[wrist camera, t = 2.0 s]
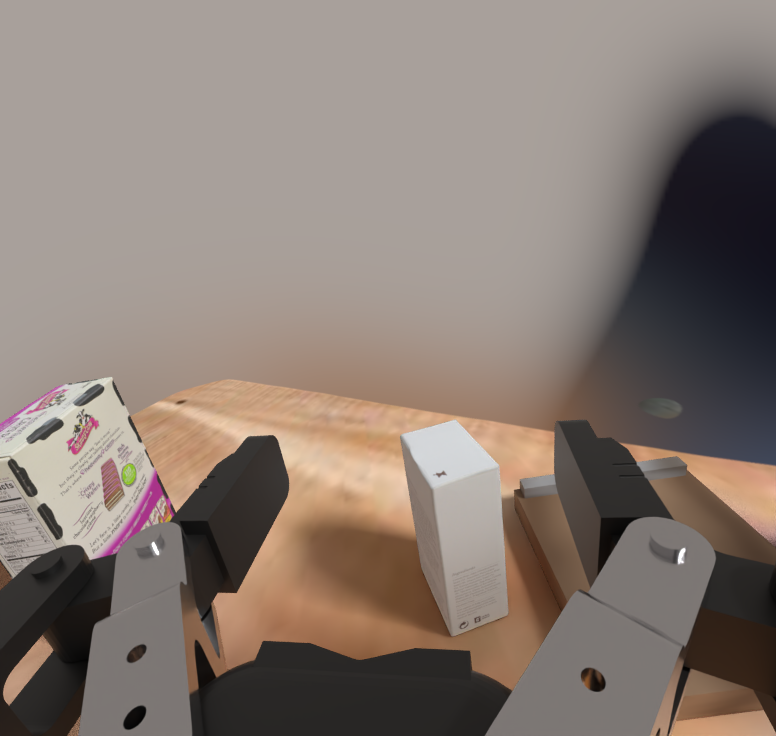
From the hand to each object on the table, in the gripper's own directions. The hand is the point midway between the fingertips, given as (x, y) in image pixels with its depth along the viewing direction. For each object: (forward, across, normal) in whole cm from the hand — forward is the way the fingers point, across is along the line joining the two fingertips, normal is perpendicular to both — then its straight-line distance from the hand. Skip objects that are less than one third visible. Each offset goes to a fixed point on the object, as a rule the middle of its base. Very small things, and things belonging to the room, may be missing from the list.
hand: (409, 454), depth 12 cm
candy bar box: (+12, +27, +20) cm, 36 cm away
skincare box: (+11, 0, +20) cm, 23 cm away
